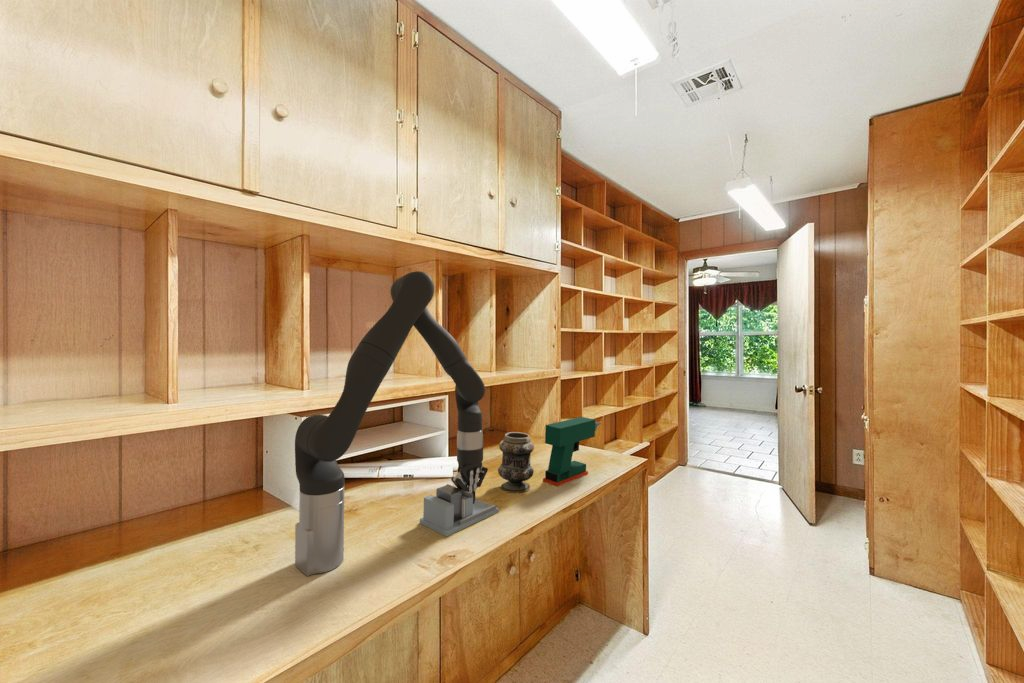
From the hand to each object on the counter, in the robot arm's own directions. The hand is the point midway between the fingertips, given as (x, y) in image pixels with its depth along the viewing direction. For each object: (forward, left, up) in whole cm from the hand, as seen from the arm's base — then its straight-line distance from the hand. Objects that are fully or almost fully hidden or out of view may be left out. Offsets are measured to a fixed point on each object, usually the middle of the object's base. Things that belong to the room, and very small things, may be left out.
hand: (470, 503), depth 123 cm
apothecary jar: (+24, +3, -3) cm, 25 cm away
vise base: (-4, 0, -3) cm, 5 cm away
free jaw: (-5, 0, -2) cm, 5 cm away
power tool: (+51, -4, -3) cm, 52 cm away
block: (-8, 0, -2) cm, 8 cm away
